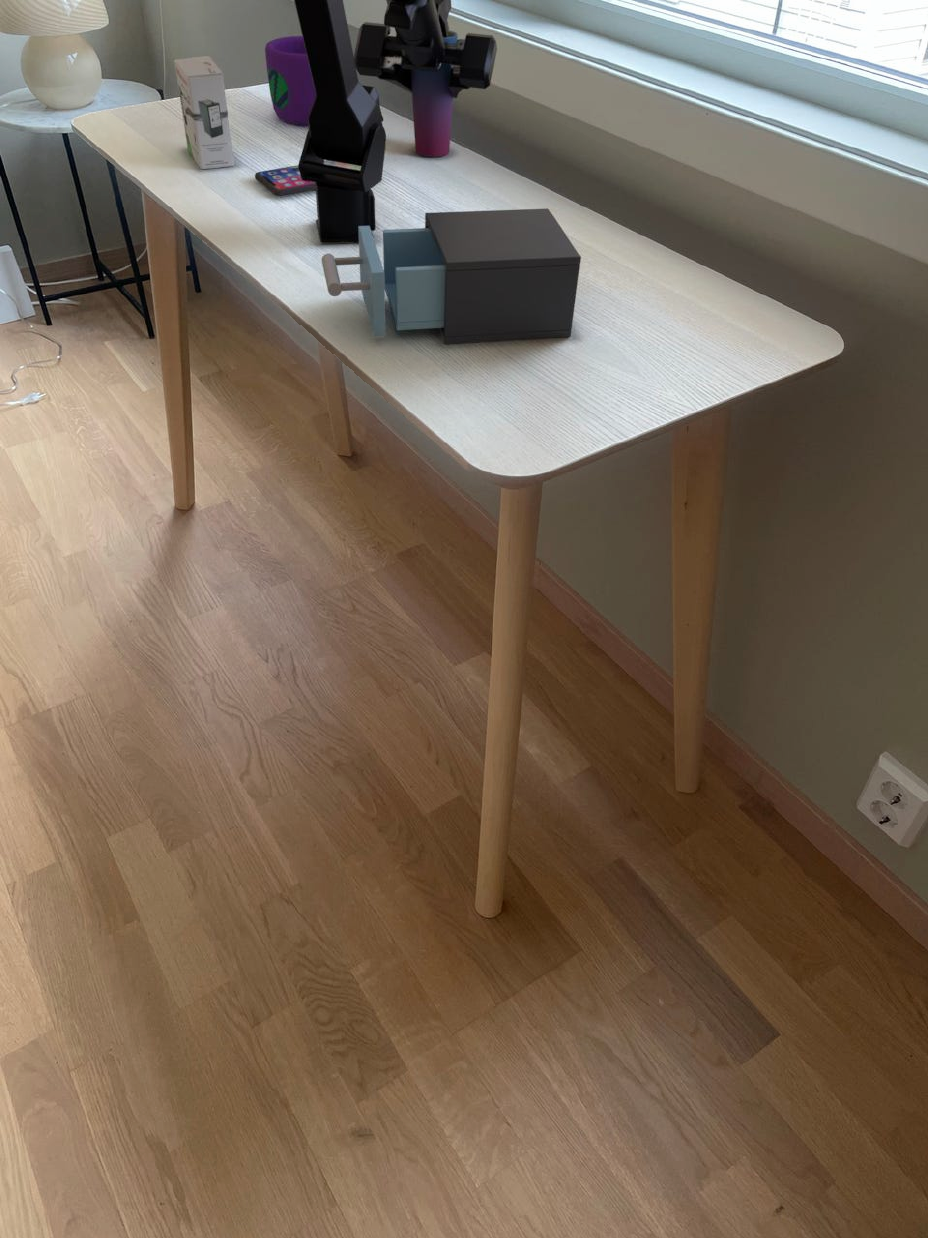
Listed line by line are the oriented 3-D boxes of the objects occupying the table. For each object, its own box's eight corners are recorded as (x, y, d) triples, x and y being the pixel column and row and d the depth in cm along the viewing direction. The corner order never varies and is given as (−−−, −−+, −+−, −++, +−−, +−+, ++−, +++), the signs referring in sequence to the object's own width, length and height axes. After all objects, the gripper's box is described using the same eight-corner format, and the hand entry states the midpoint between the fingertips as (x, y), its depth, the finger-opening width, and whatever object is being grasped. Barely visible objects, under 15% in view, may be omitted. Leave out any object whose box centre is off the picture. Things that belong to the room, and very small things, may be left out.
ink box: (186, 149, 133) (171, 56, 125) (220, 146, 135) (208, 54, 126) (200, 170, 128) (186, 74, 119) (236, 166, 129) (224, 71, 121)
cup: (421, 160, 133) (420, 39, 123) (401, 147, 138) (400, 29, 128) (463, 155, 136) (466, 36, 126) (443, 142, 140) (444, 27, 130)
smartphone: (377, 173, 127) (276, 191, 121) (377, 180, 128) (277, 198, 121) (351, 155, 131) (252, 171, 125) (351, 162, 132) (253, 179, 126)
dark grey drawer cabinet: (444, 344, 95) (446, 262, 89) (424, 290, 104) (425, 212, 98) (570, 336, 98) (581, 256, 92) (540, 284, 106) (548, 207, 100)
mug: (257, 113, 146) (249, 41, 139) (315, 101, 152) (311, 31, 145) (322, 144, 137) (318, 68, 130) (382, 130, 143) (381, 56, 136)
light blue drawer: (332, 340, 93) (328, 274, 88) (322, 289, 101) (318, 227, 96) (493, 330, 96) (497, 266, 91) (471, 282, 104) (474, 221, 99)
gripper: (499, -37, 116) (509, 43, 131) (357, -51, 118) (383, 30, 134) (482, 49, 116) (494, 120, 131) (340, 34, 118) (368, 105, 134)
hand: (434, 91), depth 132 cm, fingers closed on cup, 6 cm apart
